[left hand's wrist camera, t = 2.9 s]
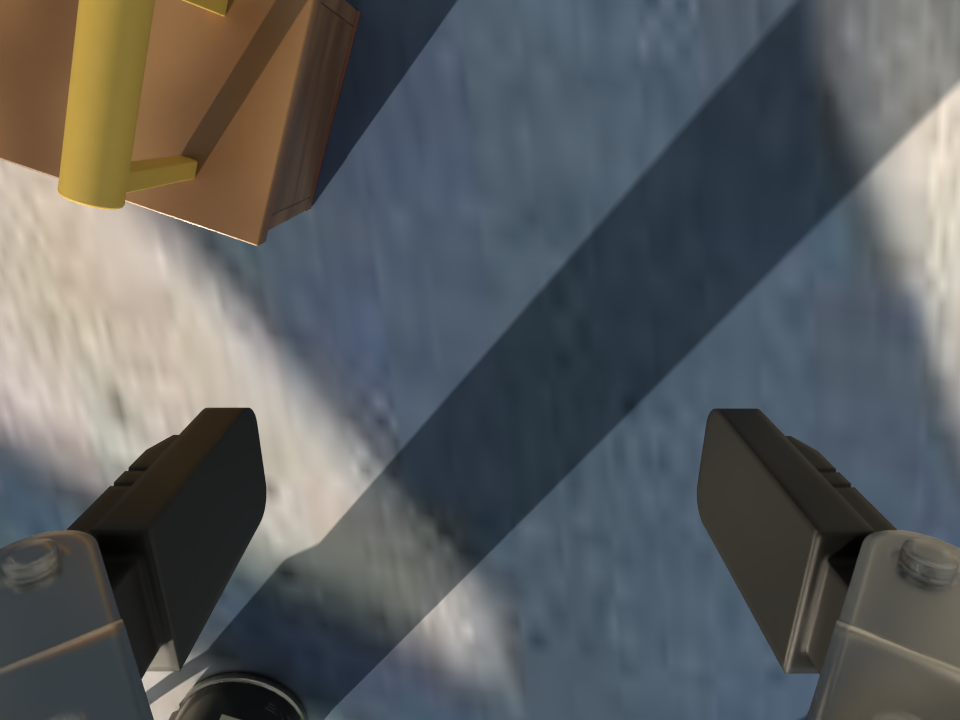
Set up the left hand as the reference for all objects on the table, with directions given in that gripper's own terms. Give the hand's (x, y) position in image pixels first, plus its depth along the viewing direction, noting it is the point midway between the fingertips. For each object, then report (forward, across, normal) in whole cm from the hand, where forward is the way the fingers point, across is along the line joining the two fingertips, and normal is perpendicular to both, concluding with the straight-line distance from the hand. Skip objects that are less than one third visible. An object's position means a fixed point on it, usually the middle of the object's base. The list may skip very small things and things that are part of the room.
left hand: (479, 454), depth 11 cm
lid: (+15, +14, -8) cm, 22 cm away
